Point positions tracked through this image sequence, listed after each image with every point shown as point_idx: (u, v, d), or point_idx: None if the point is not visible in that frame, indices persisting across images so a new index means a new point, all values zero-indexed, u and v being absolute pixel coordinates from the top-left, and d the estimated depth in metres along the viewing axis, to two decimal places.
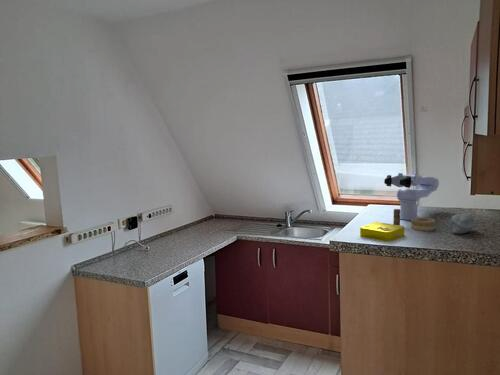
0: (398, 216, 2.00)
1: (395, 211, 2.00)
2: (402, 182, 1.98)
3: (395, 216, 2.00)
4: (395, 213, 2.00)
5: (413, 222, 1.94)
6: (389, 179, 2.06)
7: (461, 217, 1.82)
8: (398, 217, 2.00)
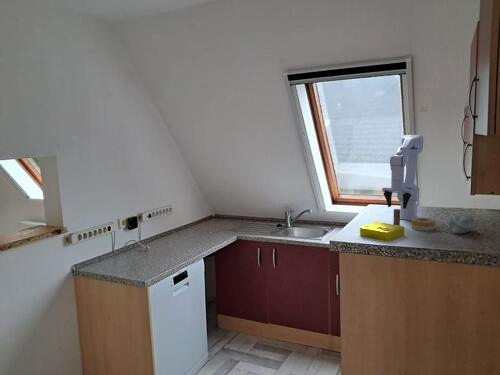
0: (398, 216, 2.00)
1: (395, 211, 2.00)
2: (405, 205, 1.98)
3: (395, 216, 2.00)
4: (395, 213, 2.00)
5: (413, 222, 1.94)
6: (389, 197, 2.02)
7: (461, 217, 1.82)
8: (398, 217, 2.00)
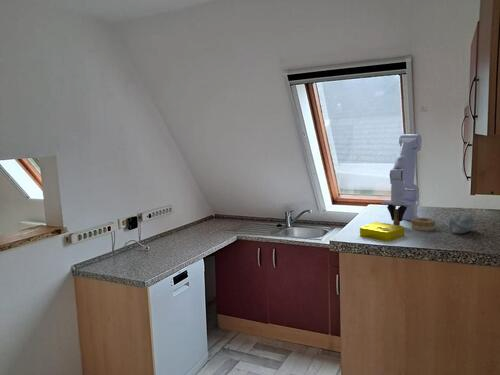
0: (398, 216, 2.00)
1: (395, 211, 2.00)
2: (401, 218, 2.00)
3: (395, 216, 2.00)
4: (395, 213, 2.00)
5: (413, 222, 1.94)
6: (392, 211, 2.02)
7: (461, 217, 1.82)
8: (398, 217, 2.00)
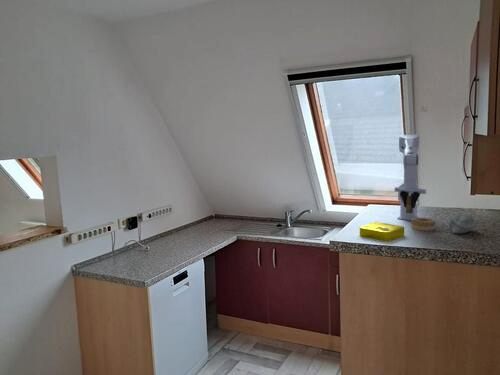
0: (411, 203, 1.96)
1: (408, 198, 1.96)
2: (414, 205, 1.96)
3: (408, 203, 1.96)
4: (408, 200, 1.96)
5: (413, 222, 1.94)
6: (405, 197, 1.98)
7: (461, 217, 1.82)
8: (411, 204, 1.96)
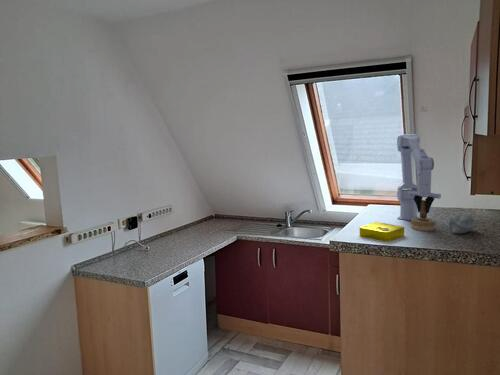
0: (425, 207, 1.93)
1: (422, 202, 1.93)
2: (428, 209, 1.93)
3: (422, 208, 1.93)
4: (422, 204, 1.93)
5: (413, 222, 1.94)
6: (419, 202, 1.94)
7: (461, 217, 1.82)
8: (425, 209, 1.93)
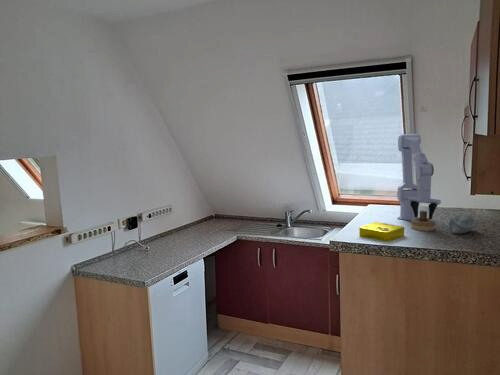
0: (425, 218, 1.93)
1: (421, 213, 1.93)
2: (431, 215, 1.92)
3: (421, 218, 1.94)
4: (421, 215, 1.94)
5: (413, 222, 1.94)
6: (416, 207, 1.96)
7: (461, 217, 1.82)
8: (425, 219, 1.93)
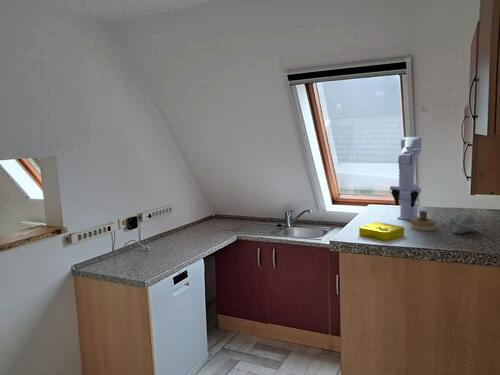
0: (425, 218, 1.93)
1: (421, 213, 1.93)
2: (413, 203, 1.99)
3: (421, 218, 1.94)
4: (421, 215, 1.94)
5: (413, 222, 1.94)
6: (396, 196, 2.04)
7: (461, 217, 1.82)
8: (425, 219, 1.93)
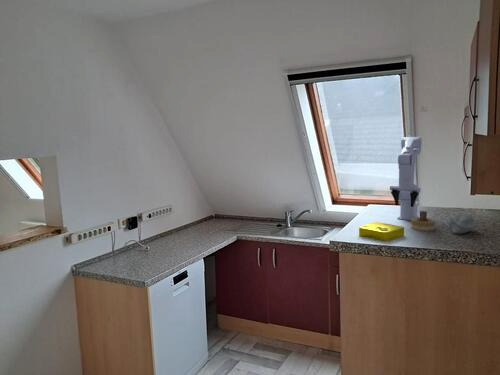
0: (425, 218, 1.93)
1: (421, 213, 1.93)
2: (413, 203, 1.99)
3: (421, 218, 1.94)
4: (421, 215, 1.94)
5: (413, 222, 1.94)
6: (396, 196, 2.04)
7: (461, 217, 1.82)
8: (425, 219, 1.93)
